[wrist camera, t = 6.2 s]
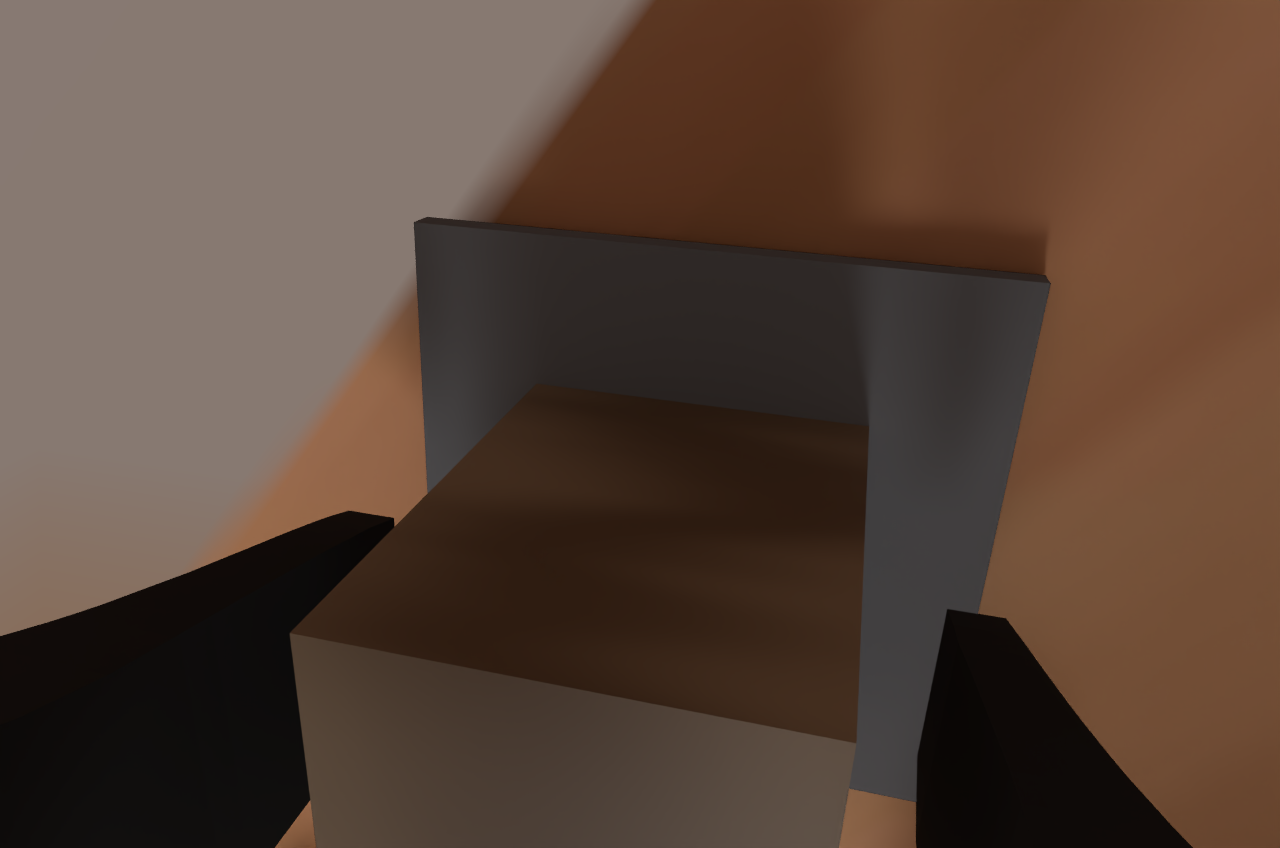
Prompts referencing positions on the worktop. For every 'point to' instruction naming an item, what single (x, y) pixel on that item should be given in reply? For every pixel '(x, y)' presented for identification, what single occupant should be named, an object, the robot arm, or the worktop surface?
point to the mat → (765, 396)
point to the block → (600, 639)
